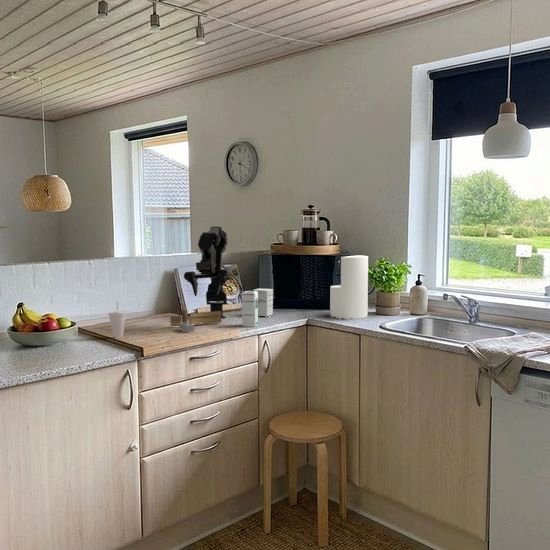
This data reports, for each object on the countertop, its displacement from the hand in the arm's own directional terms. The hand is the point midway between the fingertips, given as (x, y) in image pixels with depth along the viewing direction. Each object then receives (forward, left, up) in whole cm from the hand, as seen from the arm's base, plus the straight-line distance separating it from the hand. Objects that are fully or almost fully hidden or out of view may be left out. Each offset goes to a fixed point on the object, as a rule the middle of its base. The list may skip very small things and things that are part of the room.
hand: (206, 295), depth 230 cm
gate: (-8, +3, -13) cm, 16 cm away
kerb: (+1, -9, -14) cm, 17 cm away
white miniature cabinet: (+3, +19, -14) cm, 23 cm away
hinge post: (-8, -9, -14) cm, 18 cm away
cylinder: (+3, +70, -14) cm, 71 cm away
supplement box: (-18, +36, -14) cm, 42 cm away
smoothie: (+2, -36, -14) cm, 39 cm away
